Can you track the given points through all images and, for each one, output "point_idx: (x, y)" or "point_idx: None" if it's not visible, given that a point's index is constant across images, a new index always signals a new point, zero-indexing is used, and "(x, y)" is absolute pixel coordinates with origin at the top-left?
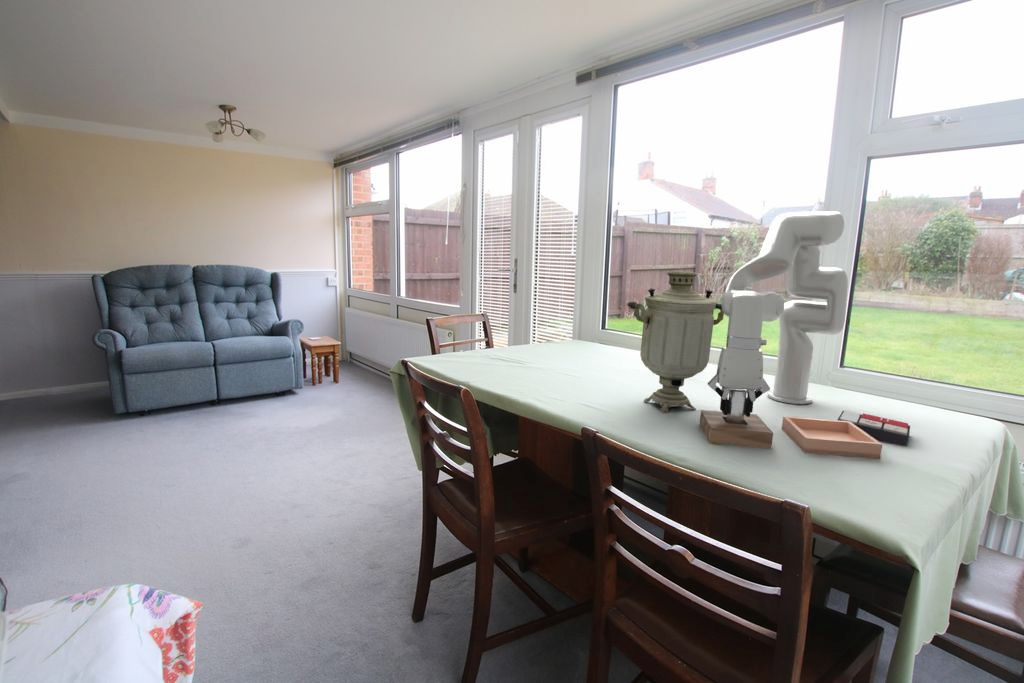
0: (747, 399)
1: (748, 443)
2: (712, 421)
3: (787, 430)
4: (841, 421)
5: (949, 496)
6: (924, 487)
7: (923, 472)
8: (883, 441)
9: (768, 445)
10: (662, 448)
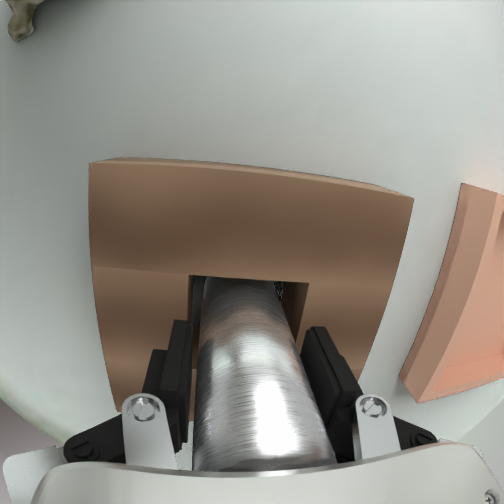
0: (331, 422)
1: None
2: (124, 355)
3: (458, 246)
4: None
5: None
6: (454, 433)
7: (500, 384)
8: None
9: None
10: (24, 394)
